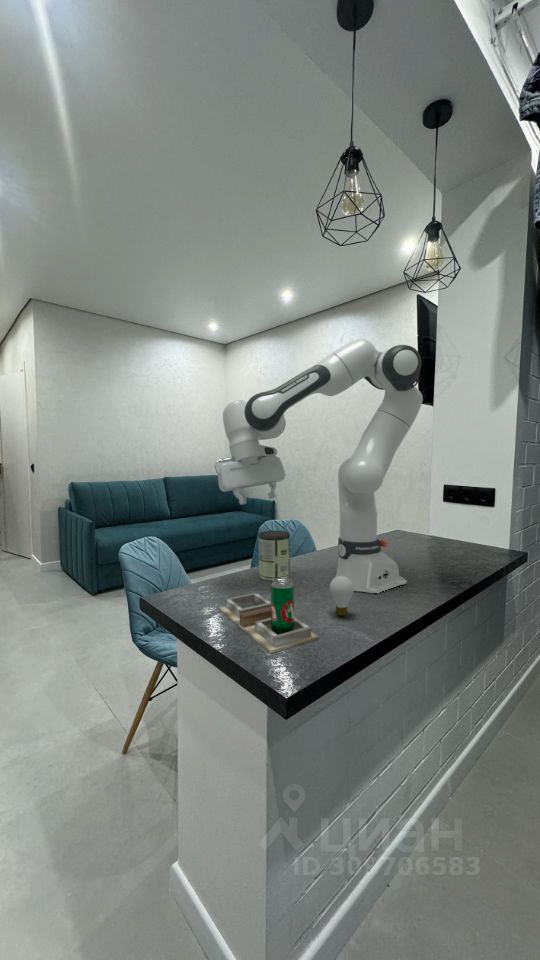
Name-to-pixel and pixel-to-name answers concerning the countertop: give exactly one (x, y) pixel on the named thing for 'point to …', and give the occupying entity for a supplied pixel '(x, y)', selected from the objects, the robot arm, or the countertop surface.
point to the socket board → (264, 623)
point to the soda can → (282, 605)
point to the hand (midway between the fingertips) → (258, 501)
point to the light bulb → (341, 593)
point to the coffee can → (274, 555)
